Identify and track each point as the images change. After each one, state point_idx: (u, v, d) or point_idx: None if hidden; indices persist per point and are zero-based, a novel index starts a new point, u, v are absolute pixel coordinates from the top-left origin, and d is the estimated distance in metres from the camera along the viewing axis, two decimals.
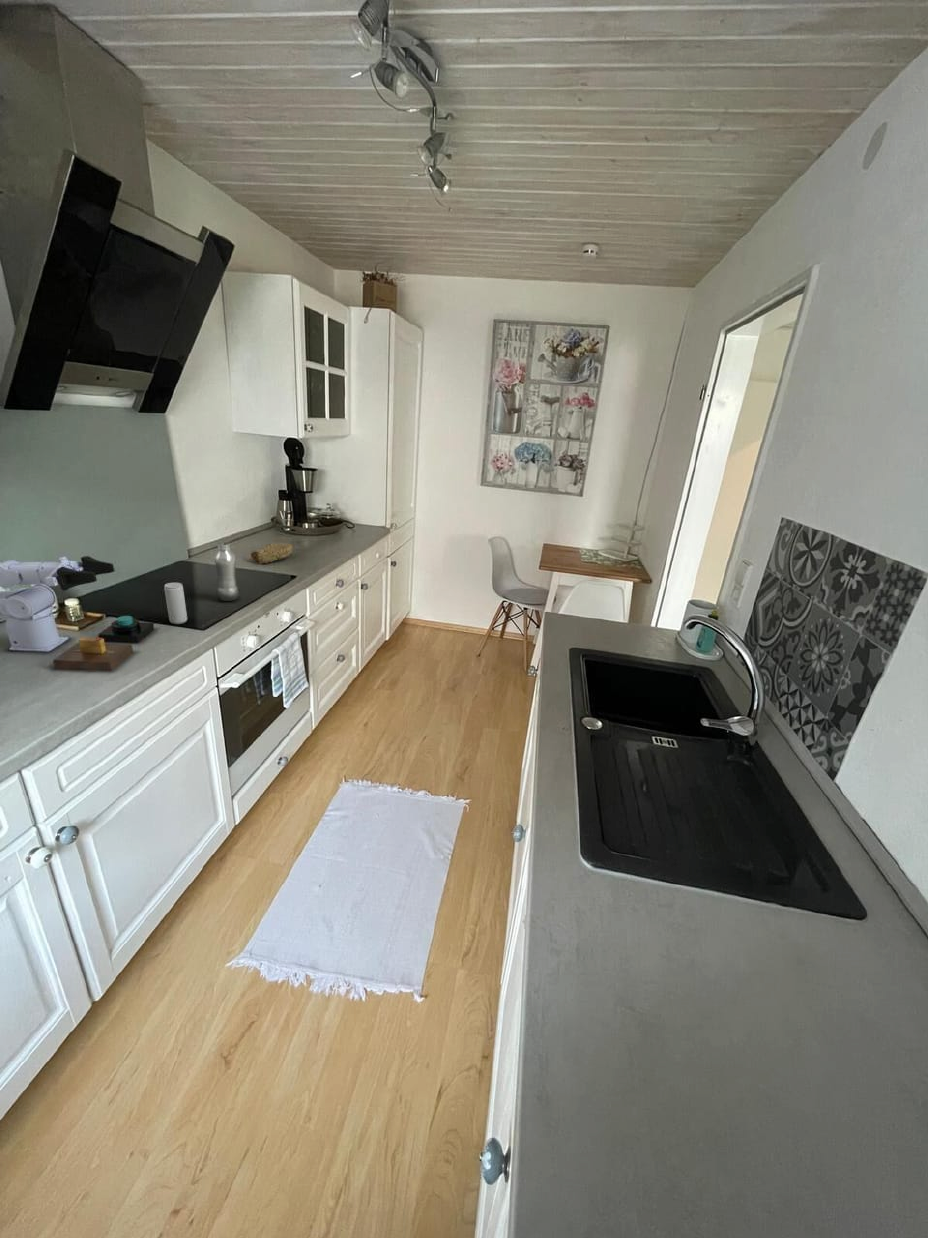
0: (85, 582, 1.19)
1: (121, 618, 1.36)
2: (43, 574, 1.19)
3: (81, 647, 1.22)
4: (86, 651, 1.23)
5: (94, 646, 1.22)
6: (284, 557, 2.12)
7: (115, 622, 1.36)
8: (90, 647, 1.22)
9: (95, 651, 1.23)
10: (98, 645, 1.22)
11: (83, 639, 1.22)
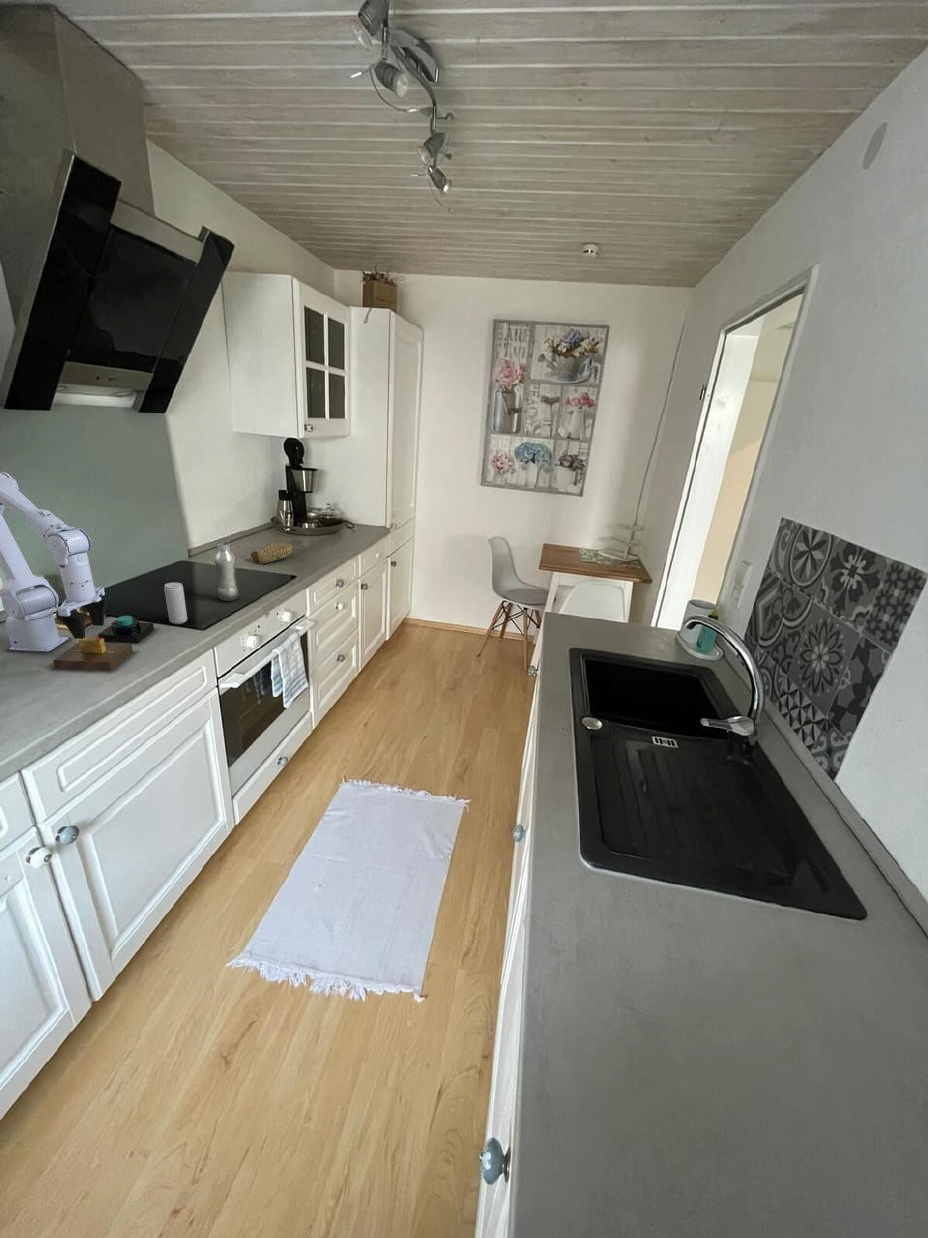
0: (71, 630, 1.16)
1: (121, 618, 1.36)
2: (73, 588, 1.14)
3: (81, 647, 1.22)
4: (86, 651, 1.23)
5: (94, 646, 1.22)
6: (284, 557, 2.12)
7: (115, 622, 1.36)
8: (90, 647, 1.22)
9: (95, 651, 1.23)
10: (98, 645, 1.22)
11: (83, 639, 1.22)
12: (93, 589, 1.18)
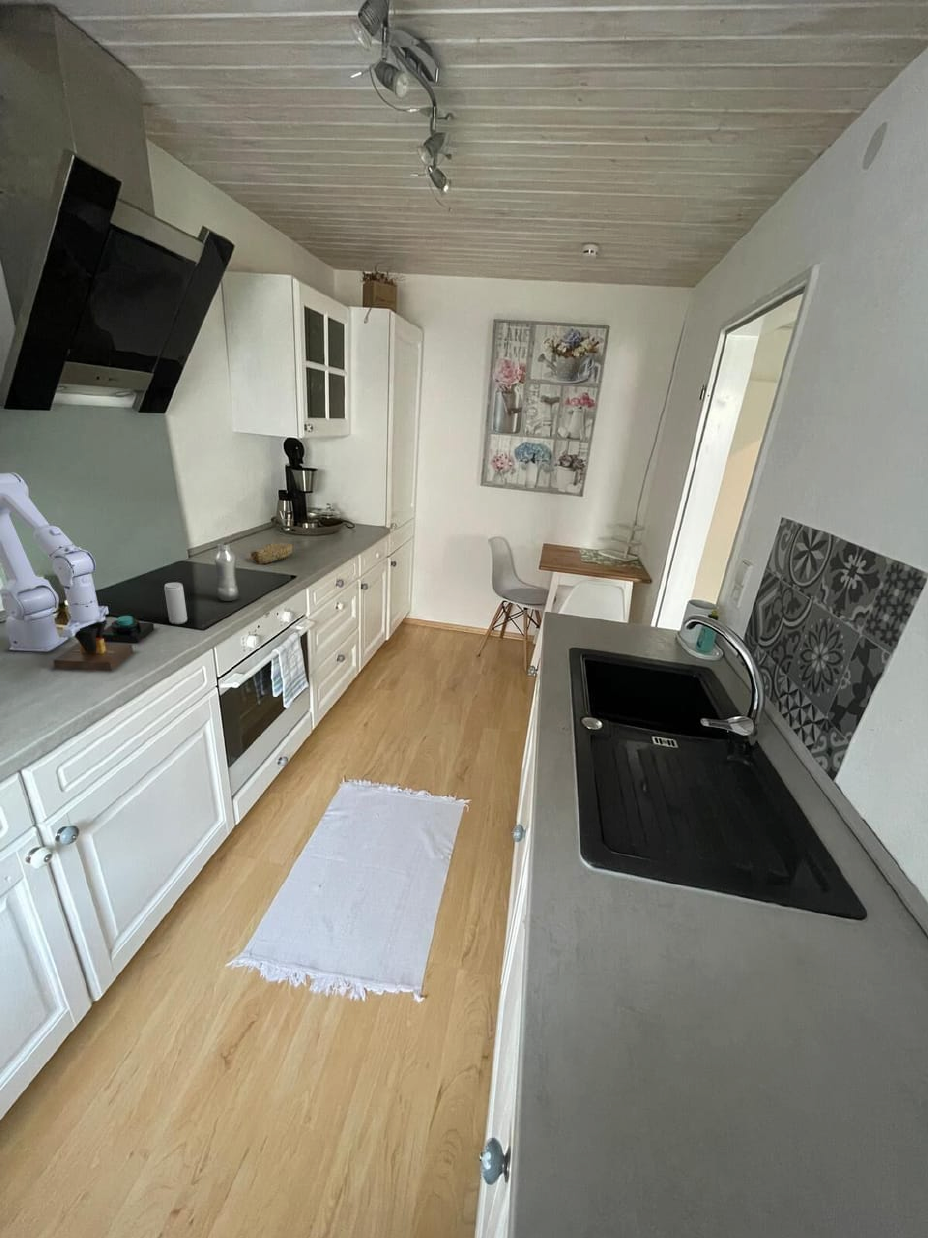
0: (82, 645, 1.21)
1: (121, 618, 1.36)
2: (78, 609, 1.16)
3: (81, 647, 1.22)
4: None
5: None
6: (284, 557, 2.12)
7: (115, 622, 1.36)
8: None
9: None
10: (98, 645, 1.22)
11: None
12: (97, 609, 1.20)
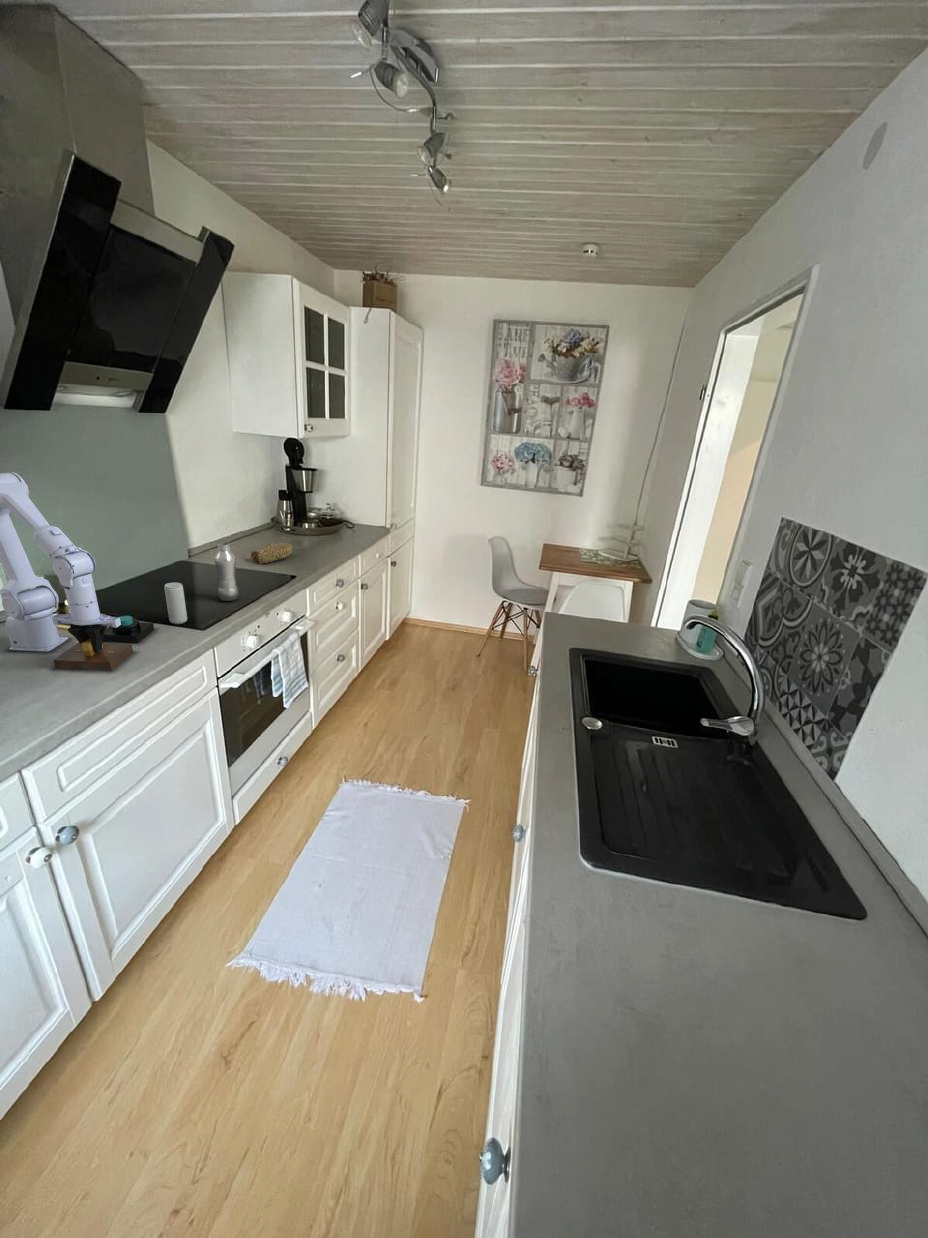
0: (96, 644, 1.22)
1: (121, 618, 1.36)
2: (96, 605, 1.20)
3: (91, 650, 1.21)
4: (94, 652, 1.23)
5: None
6: (284, 557, 2.12)
7: None
8: None
9: None
10: None
11: (88, 642, 1.21)
12: None
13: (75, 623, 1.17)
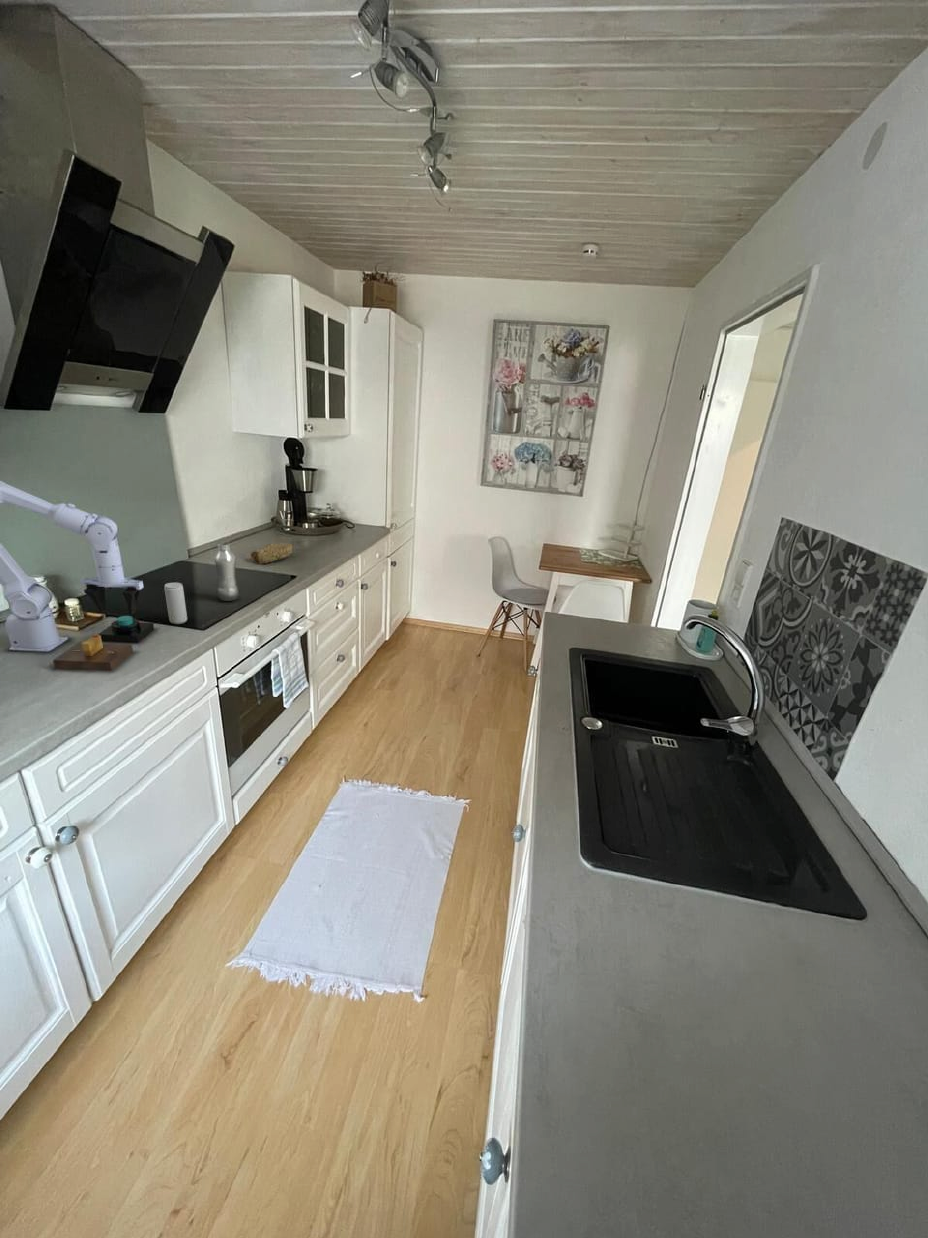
0: (131, 607, 1.32)
1: (121, 618, 1.36)
2: (121, 568, 1.29)
3: (91, 650, 1.21)
4: (94, 652, 1.23)
5: (98, 643, 1.24)
6: (284, 557, 2.12)
7: (115, 622, 1.36)
8: (95, 646, 1.23)
9: (99, 648, 1.24)
10: (100, 640, 1.25)
11: (88, 642, 1.21)
12: None
13: (102, 585, 1.27)
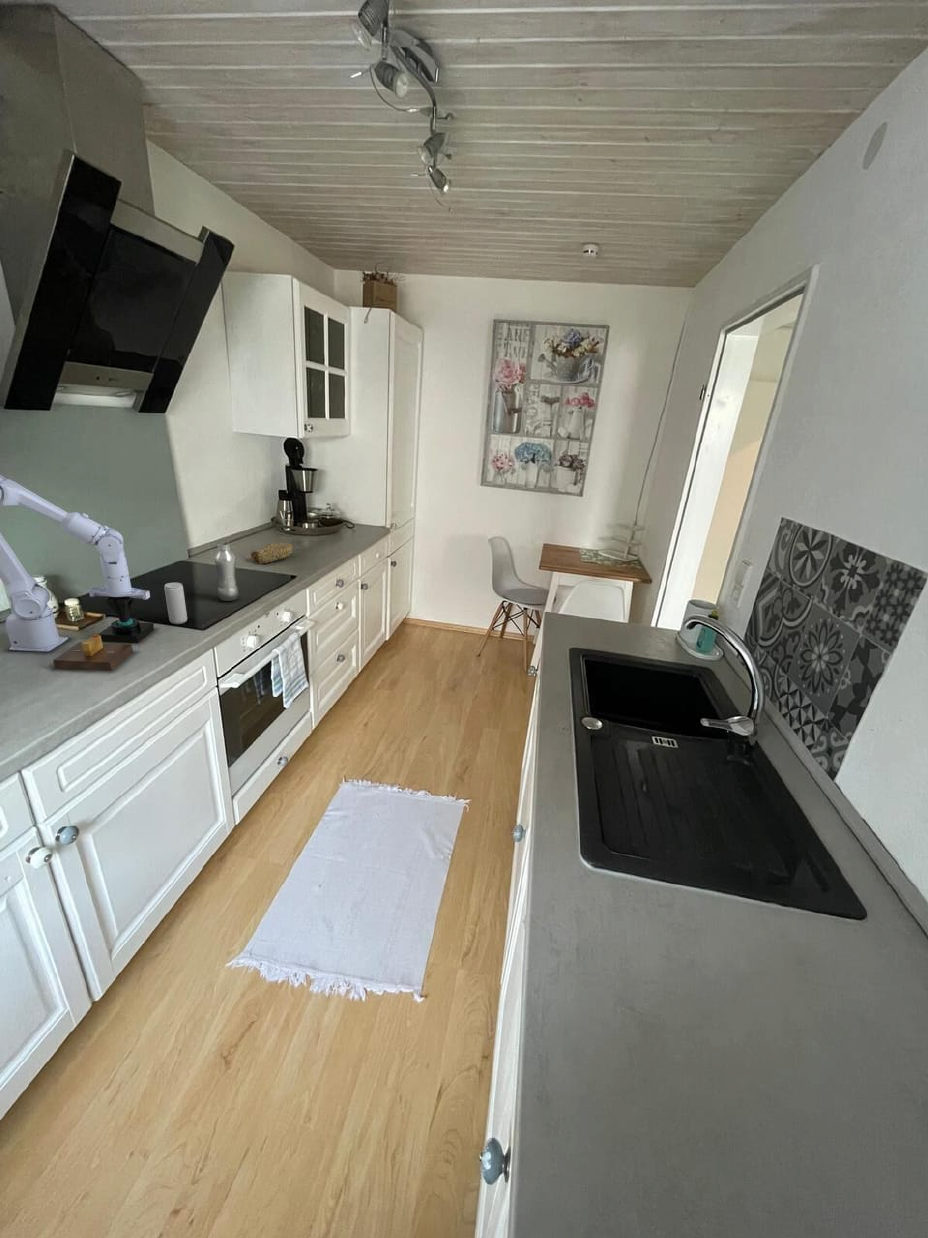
0: (125, 615, 1.35)
1: None
2: (129, 579, 1.33)
3: (91, 650, 1.21)
4: (94, 652, 1.23)
5: (98, 643, 1.24)
6: (284, 557, 2.12)
7: (115, 622, 1.36)
8: (95, 646, 1.23)
9: (99, 648, 1.24)
10: (100, 640, 1.25)
11: (88, 642, 1.21)
12: None
13: (110, 595, 1.30)
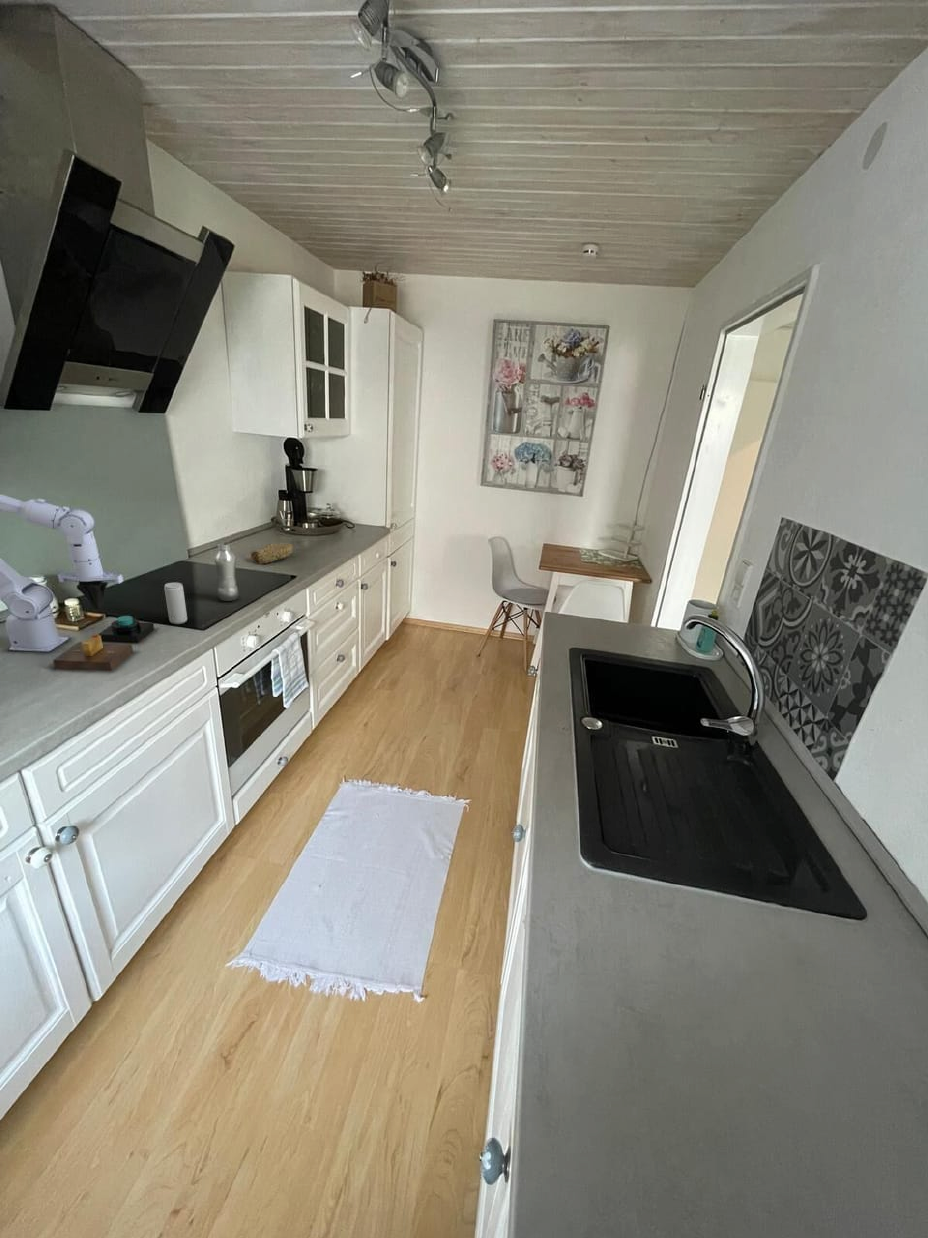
0: (97, 601, 1.28)
1: (121, 618, 1.36)
2: (99, 562, 1.25)
3: (91, 650, 1.21)
4: (94, 652, 1.23)
5: (98, 643, 1.24)
6: (284, 557, 2.12)
7: (115, 622, 1.36)
8: (95, 646, 1.23)
9: (99, 648, 1.24)
10: (100, 640, 1.25)
11: (88, 642, 1.21)
12: None
13: (80, 579, 1.23)
